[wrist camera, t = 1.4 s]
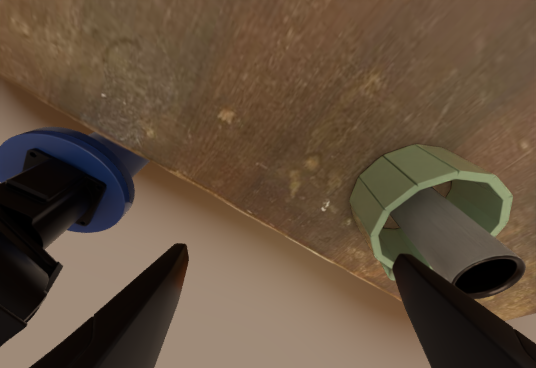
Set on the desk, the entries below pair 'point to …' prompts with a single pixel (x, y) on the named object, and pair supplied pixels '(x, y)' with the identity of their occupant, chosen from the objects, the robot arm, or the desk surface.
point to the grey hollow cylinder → (457, 245)
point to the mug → (417, 178)
